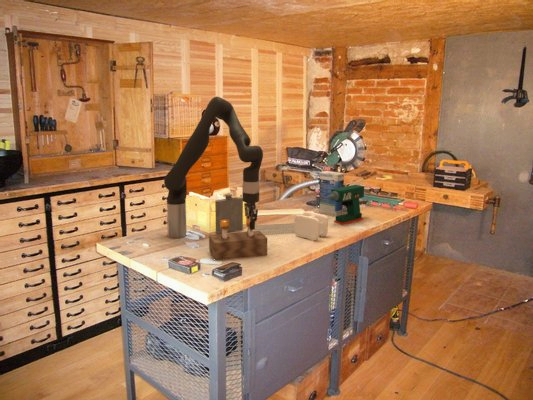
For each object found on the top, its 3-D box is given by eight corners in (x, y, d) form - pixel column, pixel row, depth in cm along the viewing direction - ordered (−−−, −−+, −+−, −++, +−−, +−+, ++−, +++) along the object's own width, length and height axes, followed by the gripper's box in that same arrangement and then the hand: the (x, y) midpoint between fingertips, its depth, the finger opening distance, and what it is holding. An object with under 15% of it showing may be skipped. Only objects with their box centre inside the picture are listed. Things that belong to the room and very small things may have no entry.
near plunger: (221, 254, 195) (221, 222, 192) (219, 251, 199) (219, 219, 196) (230, 253, 197) (230, 221, 193) (228, 250, 200) (228, 219, 197)
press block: (214, 260, 191) (214, 243, 189) (209, 251, 202) (209, 234, 200) (267, 255, 198) (267, 238, 196) (259, 246, 209) (259, 230, 207)
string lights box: (342, 214, 269) (345, 173, 263) (335, 217, 263) (338, 174, 257) (324, 210, 277) (326, 170, 271) (317, 213, 272) (319, 171, 266)
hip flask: (217, 234, 226) (217, 196, 222) (213, 232, 230) (213, 195, 225) (243, 229, 235) (243, 193, 231) (240, 228, 239) (239, 192, 234)
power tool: (327, 229, 238) (329, 193, 233) (318, 226, 243) (319, 191, 238) (363, 219, 258) (365, 186, 254) (353, 217, 263) (355, 184, 259)
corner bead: (249, 237, 225) (249, 228, 224) (246, 232, 234) (246, 223, 232) (304, 234, 232) (304, 225, 230) (299, 229, 240) (299, 220, 239)
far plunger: (247, 252, 199) (247, 220, 196) (245, 249, 203) (245, 217, 199) (256, 251, 200) (256, 219, 197) (253, 248, 204) (253, 217, 201)
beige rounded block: (292, 235, 227) (293, 214, 224) (304, 231, 234) (305, 210, 232) (316, 242, 217) (317, 219, 214) (328, 237, 225) (329, 215, 222)
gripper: (238, 188, 201) (238, 224, 204) (247, 194, 187) (247, 233, 191) (254, 187, 203) (254, 223, 207) (263, 193, 190) (263, 231, 194)
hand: (250, 227), depth 199 cm, fingers closed on far plunger, 4 cm apart
